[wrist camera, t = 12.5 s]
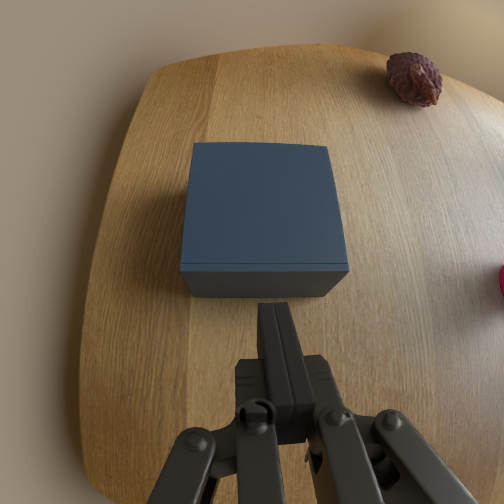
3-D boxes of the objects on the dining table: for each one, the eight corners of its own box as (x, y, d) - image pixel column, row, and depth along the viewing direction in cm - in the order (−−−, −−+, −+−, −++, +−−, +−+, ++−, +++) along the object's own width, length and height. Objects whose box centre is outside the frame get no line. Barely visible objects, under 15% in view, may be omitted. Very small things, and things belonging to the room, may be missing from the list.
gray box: (350, 271, 20) (327, 146, 25) (179, 271, 20) (193, 142, 25) (324, 296, 27) (311, 189, 32) (193, 297, 26) (201, 187, 31)
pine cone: (361, 63, 45) (391, 31, 38) (393, 93, 49) (422, 64, 43) (400, 95, 34) (441, 55, 27) (434, 134, 38) (471, 98, 31)
